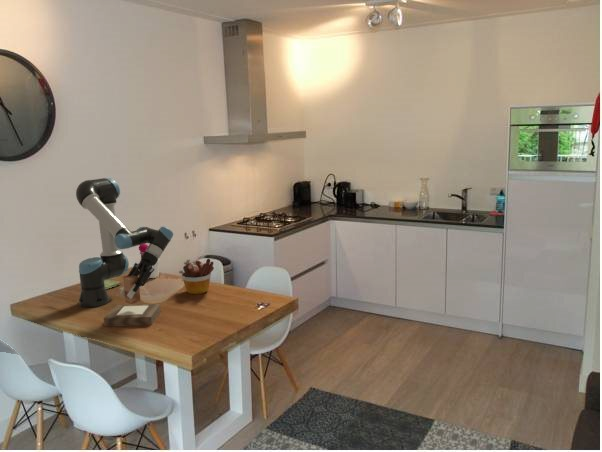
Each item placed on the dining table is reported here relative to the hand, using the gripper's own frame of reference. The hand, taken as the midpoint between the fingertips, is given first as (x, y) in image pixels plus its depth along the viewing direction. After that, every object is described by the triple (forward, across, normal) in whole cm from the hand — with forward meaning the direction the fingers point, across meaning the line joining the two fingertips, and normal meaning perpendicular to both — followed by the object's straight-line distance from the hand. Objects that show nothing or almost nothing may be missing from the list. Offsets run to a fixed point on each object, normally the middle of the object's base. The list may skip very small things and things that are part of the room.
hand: (125, 296), depth 250 cm
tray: (+6, +1, -12) cm, 13 cm away
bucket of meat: (-26, +7, -45) cm, 52 cm away
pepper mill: (-32, +67, -50) cm, 89 cm away
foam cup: (-29, +52, -46) cm, 76 cm away
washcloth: (-9, +62, -27) cm, 68 cm away
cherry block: (0, 0, -5) cm, 5 cm away
